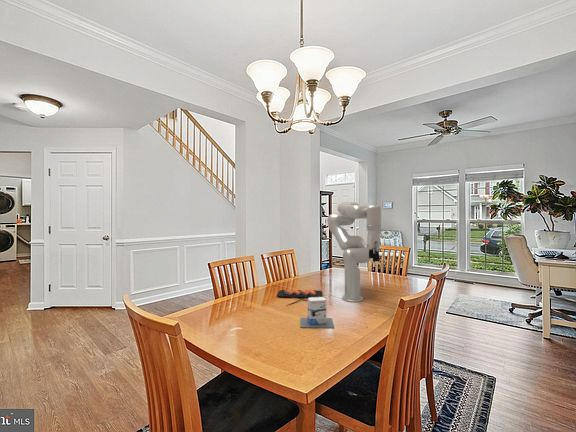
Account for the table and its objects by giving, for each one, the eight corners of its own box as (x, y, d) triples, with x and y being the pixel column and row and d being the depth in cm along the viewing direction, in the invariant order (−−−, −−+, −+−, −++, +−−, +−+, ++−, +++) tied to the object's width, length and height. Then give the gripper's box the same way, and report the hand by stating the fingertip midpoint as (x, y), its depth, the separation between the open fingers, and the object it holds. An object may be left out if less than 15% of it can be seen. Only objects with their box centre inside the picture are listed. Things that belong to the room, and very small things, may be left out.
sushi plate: (322, 293, 205) (322, 287, 205) (322, 307, 175) (322, 301, 175) (279, 292, 208) (279, 286, 208) (272, 306, 178) (272, 300, 178)
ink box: (309, 324, 147) (309, 300, 146) (307, 321, 152) (307, 297, 151) (326, 323, 148) (326, 299, 148) (323, 319, 153) (323, 296, 153)
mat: (300, 318, 156) (300, 317, 156) (331, 319, 156) (331, 318, 156) (300, 327, 144) (300, 326, 144) (334, 328, 144) (334, 327, 144)
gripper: (363, 227, 174) (363, 257, 175) (370, 229, 157) (370, 262, 157) (376, 227, 174) (376, 257, 174) (385, 229, 157) (385, 262, 157)
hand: (373, 259), depth 166 cm, fingers open, 9 cm apart
